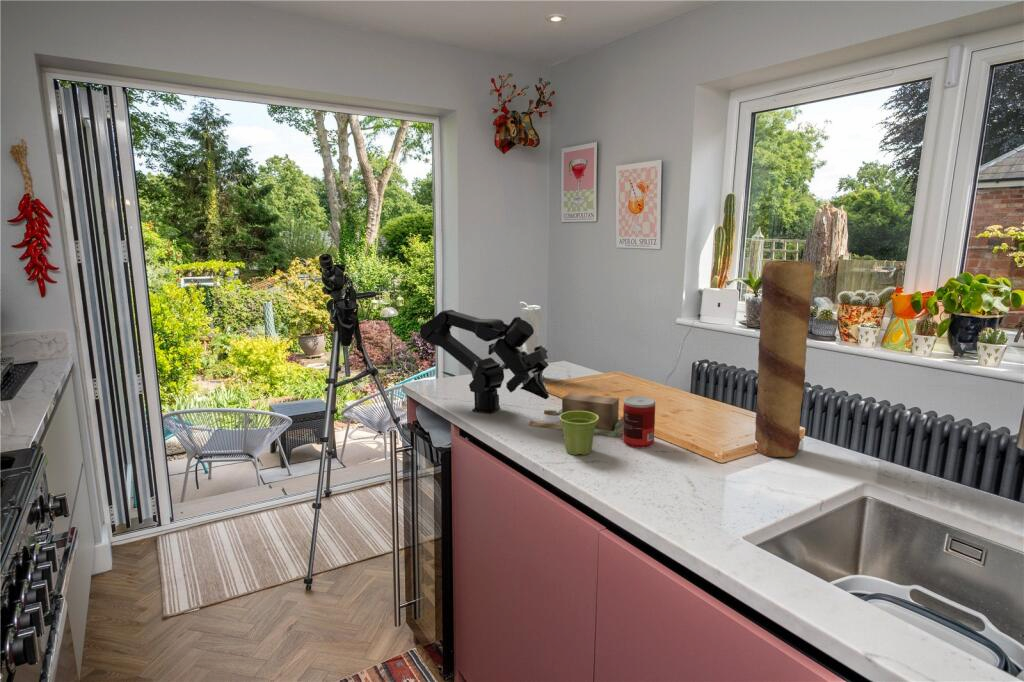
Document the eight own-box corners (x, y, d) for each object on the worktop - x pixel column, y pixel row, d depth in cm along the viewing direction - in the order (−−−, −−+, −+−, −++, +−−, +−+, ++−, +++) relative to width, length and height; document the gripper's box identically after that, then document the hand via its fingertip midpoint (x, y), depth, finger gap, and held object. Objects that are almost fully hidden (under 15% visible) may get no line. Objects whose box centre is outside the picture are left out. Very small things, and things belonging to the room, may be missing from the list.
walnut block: (562, 426, 157) (562, 398, 155) (569, 420, 162) (569, 392, 160) (612, 433, 151) (612, 404, 149) (618, 426, 156) (618, 398, 154)
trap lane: (522, 430, 153) (521, 419, 153) (551, 407, 173) (551, 398, 172) (613, 443, 143) (613, 432, 142) (633, 417, 163) (634, 407, 162)
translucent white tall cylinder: (518, 380, 205) (517, 303, 200) (521, 375, 213) (520, 300, 208) (541, 381, 204) (541, 303, 199) (544, 375, 212) (543, 300, 207)
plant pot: (606, 450, 139) (606, 415, 137) (583, 461, 132) (583, 425, 130) (574, 441, 145) (575, 408, 144) (551, 451, 138) (551, 417, 137)
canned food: (651, 437, 147) (653, 396, 145) (656, 448, 139) (657, 405, 137) (621, 436, 148) (622, 395, 146) (624, 448, 140) (625, 404, 138)
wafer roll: (756, 439, 144) (768, 259, 136) (802, 448, 138) (818, 260, 130) (745, 452, 136) (757, 261, 127) (794, 462, 130) (810, 262, 121)
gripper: (516, 344, 151) (555, 389, 149) (542, 332, 168) (577, 372, 166) (490, 370, 156) (527, 414, 154) (517, 356, 173) (551, 395, 170)
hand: (547, 398), depth 161 cm, fingers closed
